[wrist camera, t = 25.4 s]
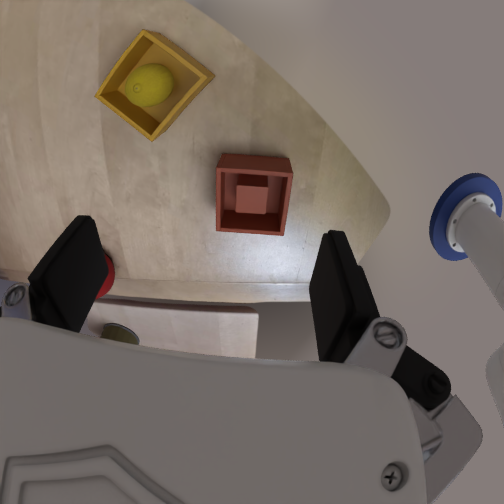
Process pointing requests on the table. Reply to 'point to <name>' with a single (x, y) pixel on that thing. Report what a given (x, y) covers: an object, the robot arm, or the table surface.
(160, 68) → the lemon
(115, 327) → the canister
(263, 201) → the clay block
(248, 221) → the clay bin
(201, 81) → the yellow bin
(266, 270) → the table surface
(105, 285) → the apple
